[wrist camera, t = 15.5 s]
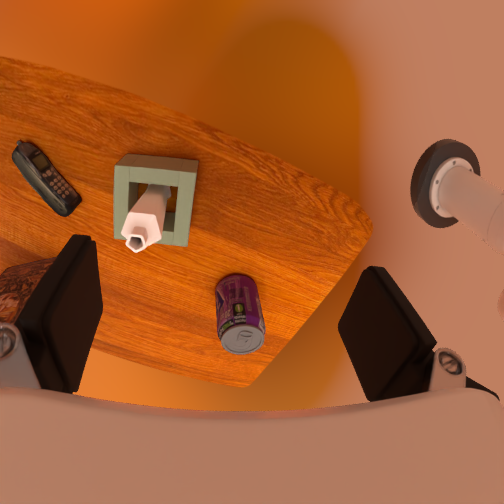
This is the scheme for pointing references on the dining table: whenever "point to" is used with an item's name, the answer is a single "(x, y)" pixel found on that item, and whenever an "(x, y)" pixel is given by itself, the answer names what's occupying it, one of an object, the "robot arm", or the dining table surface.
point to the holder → (160, 173)
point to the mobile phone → (45, 179)
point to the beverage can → (239, 315)
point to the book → (19, 287)
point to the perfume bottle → (146, 218)
